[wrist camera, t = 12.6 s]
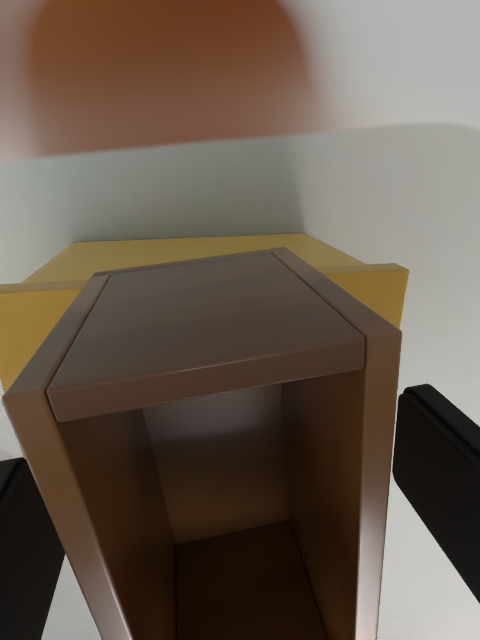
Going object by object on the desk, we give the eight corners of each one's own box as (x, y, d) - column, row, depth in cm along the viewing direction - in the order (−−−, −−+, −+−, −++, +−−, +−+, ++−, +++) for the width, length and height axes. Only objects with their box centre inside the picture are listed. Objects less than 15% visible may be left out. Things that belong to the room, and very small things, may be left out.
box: (311, 226, 18) (410, 269, 11) (302, 376, 22) (372, 490, 14) (64, 235, 17) (-26, 294, 9) (95, 397, 20) (47, 539, 12)
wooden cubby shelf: (93, 271, 9) (-3, 398, 4) (285, 245, 10) (404, 330, 5) (163, 541, 13) (157, 774, 8) (298, 512, 14) (371, 713, 9)
